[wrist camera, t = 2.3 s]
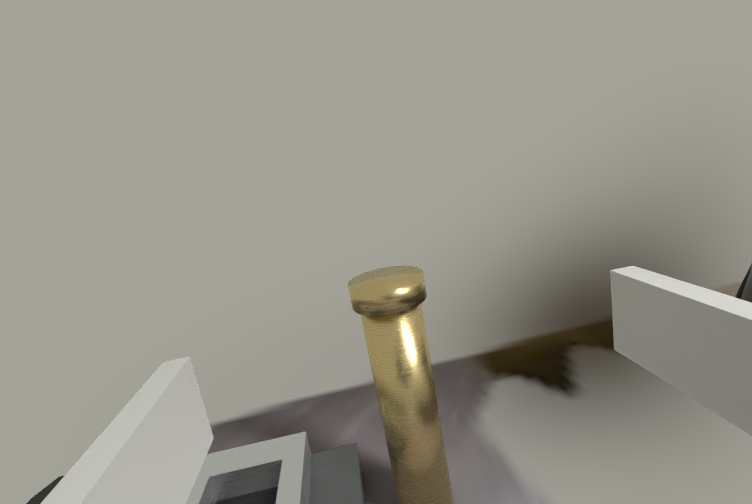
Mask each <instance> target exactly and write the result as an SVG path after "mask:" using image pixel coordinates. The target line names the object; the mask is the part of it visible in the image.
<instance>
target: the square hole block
mask: <svg viewBox="0 0 752 504" xmlns="http://www.w3.org/2000/svg"><path fill="white" fill-rule="evenodd" d="M186 504H366V500H365V492H364V483H363V474H362V465H361V461H360V456H359V451H358V447H357V443H356V444H351V445H347V446H343V447H339V448H335V449H330V450H326V451H322V452H318V453H313V454H311V450H310V446H309V442H308V438H307V433H306V431H305V432H301V433H297V434H292V435H288V436H284V437H279V438H275V439H271V440H267V441H262V442H258V443H254V444H249V445H245V446H241V447H236V448H232V449H228V450H224V451H219V452H215V453H211V454H207V455H206V458H205V460H204V462H203V465H202V467H201V469H200V472H199V474H198V476H197V479H196V481H195V483H194V486H193V488H192V490H191V493H190V495H189V497H188V500H187V502H186Z"/></svg>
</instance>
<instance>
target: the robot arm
mask: <svg viewBox="0 0 752 504" xmlns="http://www.w3.org/2000/svg"><path fill="white" fill-rule="evenodd" d="M610 273H611V294H612V316H613V337H614V350H615V351H617V352H619V353H620V354H622V355H623V356H625V357H627V358H628V359H630V360H631V361H633V362H635V363H636V364H638V365H639V366H641V367H643V368H644V369H646V370H647V371H649V372H651V373H652V374H654V375H655V376H657V377H659V378H660V379H662V380H664V381H665V382H667V383H668V384H670V385H672V386H673V387H675V388H676V389H678V390H679V391H681V392H683V393H684V394H686V395H688V396H689V397H691V398H692V399H694V400H696V401H697V402H699V403H700V404H702V405H704V406H705V407H707V408H709V409H710V410H712V411H713V412H715V413H716V414H718V415H720V416H721V417H723V418H724V419H726V420H728V421H729V422H731V423H733V424H734V425H736V426H737V427H739V428H740V429H742V430H744V431H745V432H747V433H748V434H750V435H752V264H751V266H750V268H749V270H748V272H747V274H746V276H745V278H744V280H743V282H742V284H741V286H740V288H739V290H738V293H737V295H736V297H732V296H729V295H725V294H722V293H719V292H716V291H712V290H709V289H706V288H703V287H700V286H696V285H693V284H690V283H687V282H683V281H680V280H677V279H673V278H670V277H667V276H664V275H661V274H657V273H654V272H651V271H648V270H644V269H641V268H638V267H635V266H630V267H624V268H620V269H615V270H611V271H610ZM213 439H214V437H213V434H212V431H211V427H210V424H209V420H208V417H207V413H206V410H205V406H204V403H203V400H202V396H201V393H200V389H199V386H198V382H197V379H196V376H195V372H194V369H193V365H192V362H191V358H190V357H184V358H179V359H175V360H170V361H165V362H163V363H162V364H161V365H160V366H159V367H158V368H157V369H156V371H155V372H154V373H153V374H152V375H151V377H150V378H149V379H148V380H147V381H146V382H145V383H144V385H143V386H142V387H141V388H140V389H139V390H138V392H137V393H136V394H135V395H134V396H133V397H132V398H131V400H130V401H129V402H128V403H127V404H126V406H124V408H123V409H122V410H121V411H120V412H119V413H118V415H117V416H116V417H115V418H114V419H113V420H112V422H111V423H110V424H109V425H108V426H107V427H106V428H105V430H104V431H103V432H102V433H101V434H100V436H99V437H98V438H97V439H96V440H95V441H94V442H93V444H92V445H91V446H90V447H89V448H88V449H87V450H86V452H85V453H84V454H83V455H82V456H81V457H80V459H79V460H78V461H77V462H76V463H75V464H74V465H73V467H72V468H71V469H70V470H69V471H68V472H67V474H66V475H65V476H61V477H58V478H57V479H56V480H54V481H53V482H52V483H51V484H49V485H48V486H47V487H46V488H44V489H43V490H42V491H40V492H39V493H38V494H37V495H35V496H34V497H33V498H31V499H30V501H29V502H28V503H27V504H186V502H187V500H188V497H189V495H190V493H191V490H192V488H193V486H194V483H195V481H196V479H197V476H198V474H199V472H200V469H201V467H202V465H203V462H204V460H205V458H206V455H207V453H208V451H209V448H210V446H211V444H212V441H213Z"/></svg>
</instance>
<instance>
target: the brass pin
mask: <svg viewBox="0 0 752 504" xmlns="http://www.w3.org/2000/svg"><path fill="white" fill-rule="evenodd" d="M348 288H349V293H350V298H351V303H352V308H353V310H354V311H355V312H356V313H358V314H361V317H362V323H363V328H364V333H365V338H366V343H367V347H368V353H369V357H370V362H371V367H372V373H373V378H374V383H375V388H376V393H377V398H378V403H379V408H380V413H381V418H382V423H383V428H384V433H385V438H386V443H387V448H388V453H389V458H390V463H391V468H392V473H393V478H394V483H395V488H396V493H397V498H398V503H399V504H454V502H453V496H452V490H451V484H450V478H449V471H448V465H447V459H446V453H445V447H444V441H443V435H442V429H441V422H440V416H439V410H438V404H437V398H436V392H435V386H434V380H433V373H432V367H431V362H430V355H429V349H428V343H427V337H426V331H425V325H424V318H423V313H422V307H421V303H422V302H423V301H424V300H425V299H426V296H427V294H426V288H425V281H424V275H423V271H422V270H421V269H419V268H417V267H411V266H394V267H387V268H381V269H376V270H373V271H369V272H366V273H363V274H361V275H359V276H357V277H355V278H353V279H352V280H350V282H349V283H348Z"/></svg>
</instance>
